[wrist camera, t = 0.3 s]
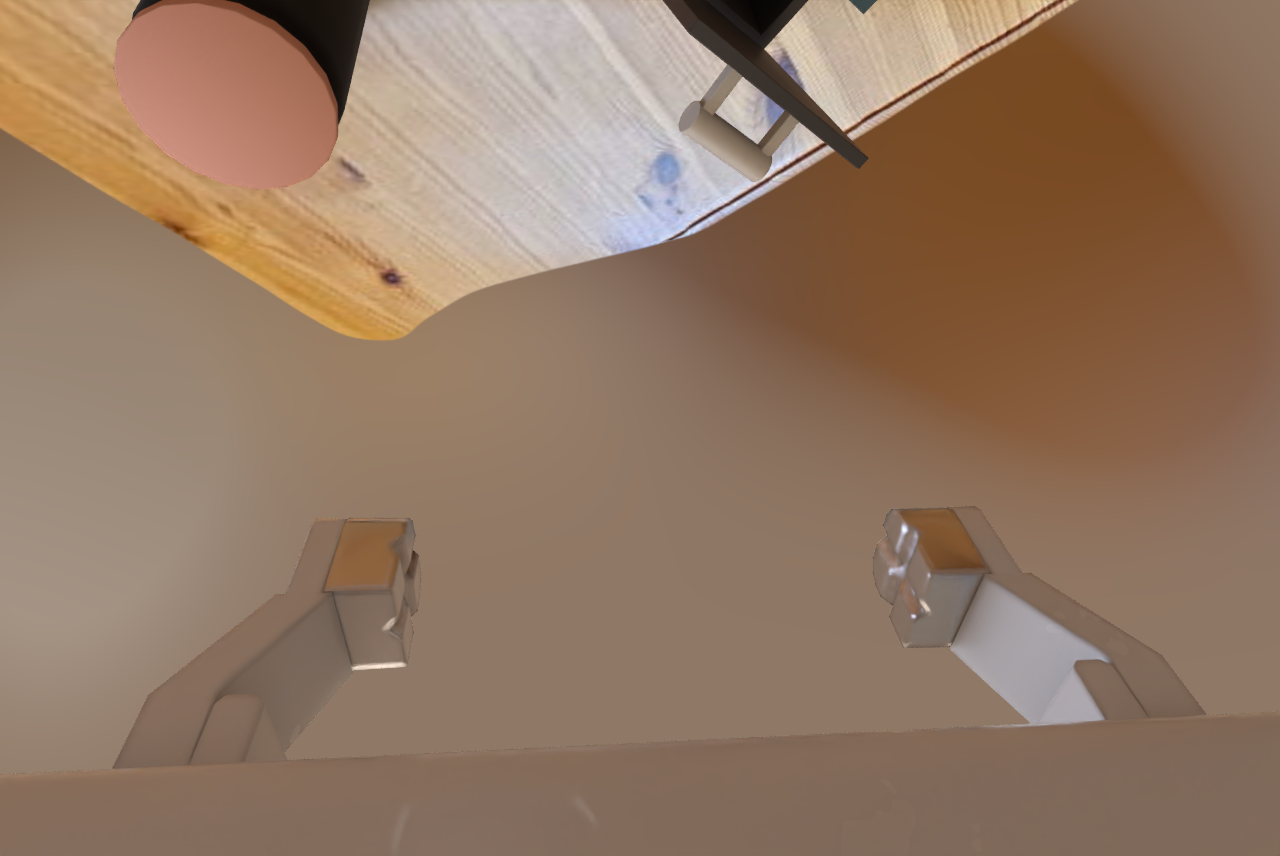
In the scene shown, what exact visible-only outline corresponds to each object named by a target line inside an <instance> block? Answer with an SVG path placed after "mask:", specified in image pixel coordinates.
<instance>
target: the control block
mask: <svg viewBox="0 0 1280 856" xmlns="http://www.w3.org/2000/svg"><path fill="white" fill-rule="evenodd" d="M849 1H850V2H851V3H852V4H853V5H855V6H856V7H857V8H858V9H859V10H860V11H861V12H862V13H863V14H864V13H865V12H866V11H867V10H868V9H869V8H870V7H871V6H872V5H873V4H874V3H875V2H876V1H877V0H849Z"/></svg>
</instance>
